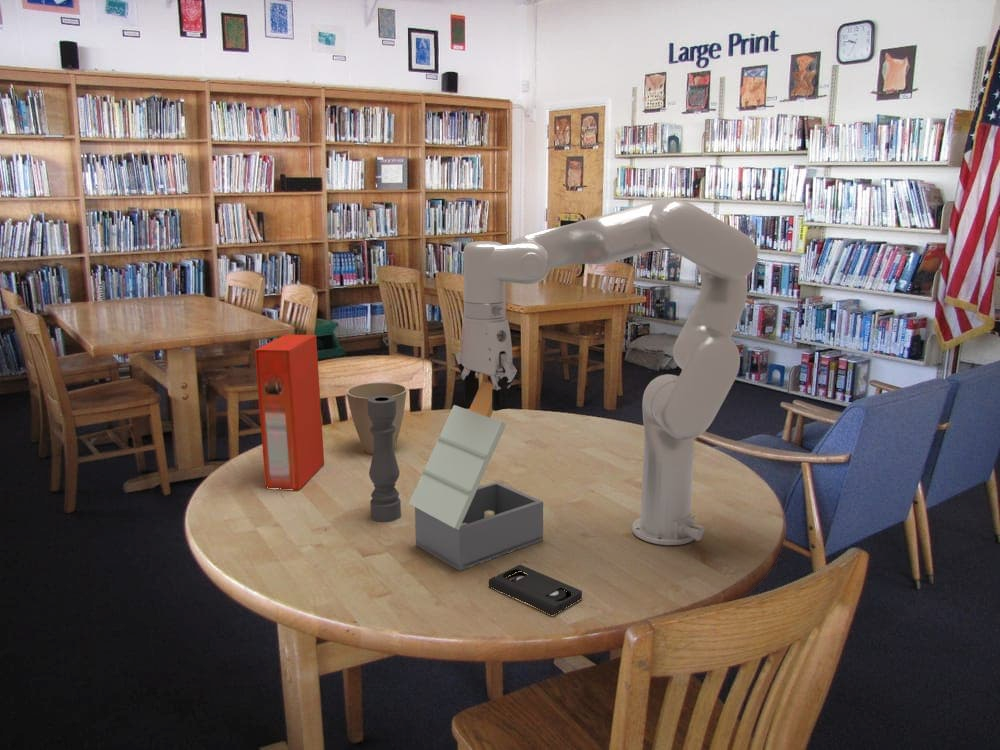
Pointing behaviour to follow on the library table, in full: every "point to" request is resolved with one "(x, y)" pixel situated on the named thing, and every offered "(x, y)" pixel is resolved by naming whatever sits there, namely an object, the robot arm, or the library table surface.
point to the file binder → (290, 410)
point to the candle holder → (383, 460)
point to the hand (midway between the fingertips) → (485, 404)
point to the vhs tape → (536, 589)
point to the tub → (483, 527)
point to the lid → (459, 460)
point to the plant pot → (360, 409)
